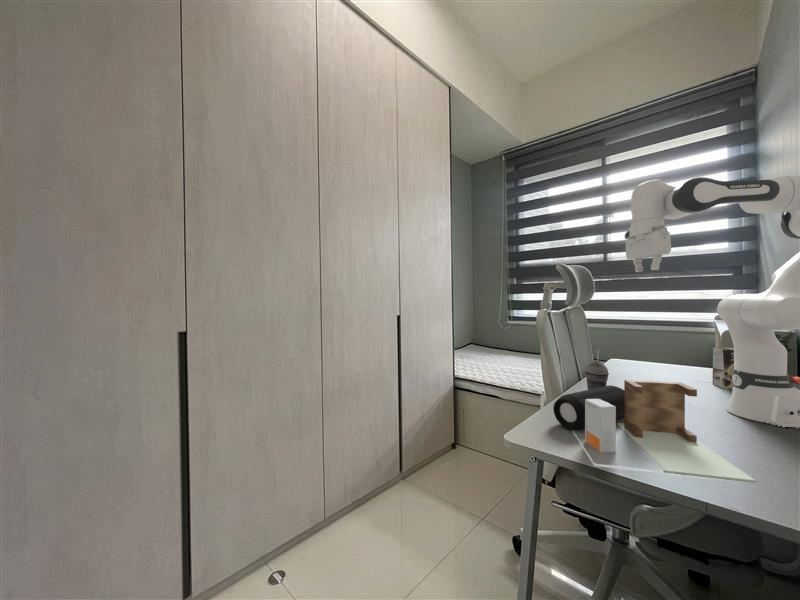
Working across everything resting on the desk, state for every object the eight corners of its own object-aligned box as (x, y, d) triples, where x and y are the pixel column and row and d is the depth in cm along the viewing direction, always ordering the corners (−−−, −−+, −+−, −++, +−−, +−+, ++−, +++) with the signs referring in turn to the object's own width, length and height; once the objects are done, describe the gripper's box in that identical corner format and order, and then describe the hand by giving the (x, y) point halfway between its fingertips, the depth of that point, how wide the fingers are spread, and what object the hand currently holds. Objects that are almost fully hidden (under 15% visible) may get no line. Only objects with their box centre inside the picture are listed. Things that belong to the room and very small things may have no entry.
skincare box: (584, 443, 84) (584, 398, 83) (599, 442, 84) (599, 398, 84) (600, 454, 78) (600, 407, 77) (616, 453, 78) (616, 406, 78)
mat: (679, 429, 91) (679, 428, 91) (755, 482, 66) (755, 480, 66) (616, 424, 95) (616, 423, 95) (665, 472, 70) (665, 470, 70)
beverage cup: (601, 401, 114) (601, 347, 114) (613, 409, 107) (613, 351, 107) (581, 401, 115) (580, 347, 115) (591, 408, 108) (591, 351, 107)
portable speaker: (580, 437, 87) (580, 401, 87) (550, 423, 96) (550, 391, 96) (635, 420, 98) (635, 388, 98) (603, 409, 107) (603, 381, 107)
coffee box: (724, 389, 126) (725, 349, 126) (711, 384, 133) (712, 346, 132) (751, 389, 125) (751, 349, 125) (736, 385, 131) (737, 347, 131)
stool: (681, 431, 88) (681, 382, 88) (696, 442, 82) (696, 389, 82) (624, 427, 92) (624, 379, 92) (634, 437, 85) (635, 386, 85)
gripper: (678, 222, 95) (677, 268, 95) (641, 234, 115) (641, 272, 115) (654, 224, 96) (653, 268, 96) (622, 235, 116) (621, 272, 116)
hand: (646, 270), depth 106 cm, fingers open, 8 cm apart
